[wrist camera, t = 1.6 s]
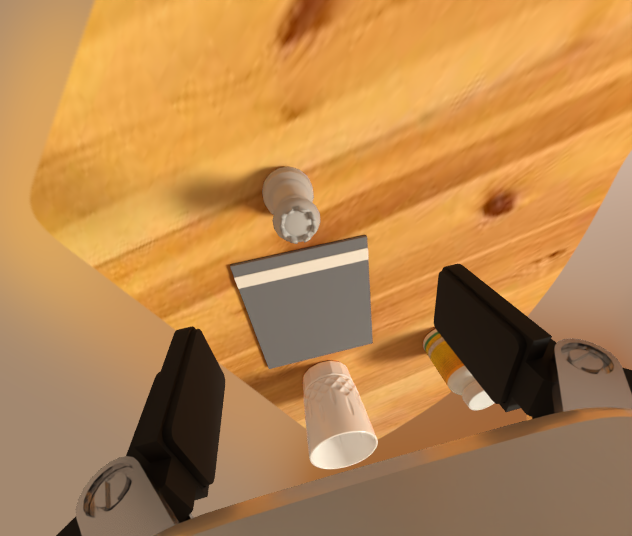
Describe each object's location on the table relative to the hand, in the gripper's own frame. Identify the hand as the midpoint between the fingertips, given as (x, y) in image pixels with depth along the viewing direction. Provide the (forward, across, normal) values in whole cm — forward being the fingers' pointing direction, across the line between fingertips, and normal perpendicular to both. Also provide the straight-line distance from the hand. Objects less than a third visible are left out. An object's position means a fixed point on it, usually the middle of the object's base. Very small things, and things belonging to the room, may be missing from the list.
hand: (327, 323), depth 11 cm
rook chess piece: (+17, 0, -1) cm, 17 cm away
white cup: (+17, 0, +26) cm, 32 cm away
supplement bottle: (+17, -17, +24) cm, 34 cm away
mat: (+17, 0, +13) cm, 22 cm away
